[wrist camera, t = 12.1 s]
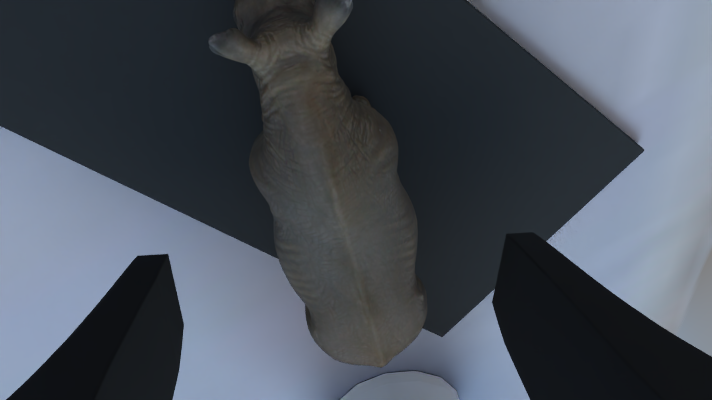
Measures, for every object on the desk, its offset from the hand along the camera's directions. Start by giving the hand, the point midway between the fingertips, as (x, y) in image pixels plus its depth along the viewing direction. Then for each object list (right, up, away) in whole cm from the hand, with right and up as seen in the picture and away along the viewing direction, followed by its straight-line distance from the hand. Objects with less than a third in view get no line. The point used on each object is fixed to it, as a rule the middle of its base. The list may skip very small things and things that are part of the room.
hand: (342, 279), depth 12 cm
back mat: (-1, +4, +6) cm, 8 cm away
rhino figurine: (-1, +4, +6) cm, 7 cm away
